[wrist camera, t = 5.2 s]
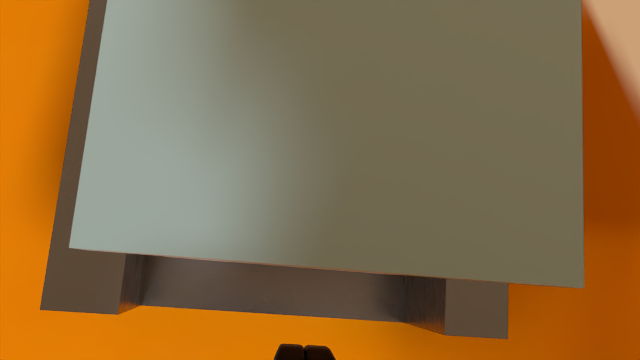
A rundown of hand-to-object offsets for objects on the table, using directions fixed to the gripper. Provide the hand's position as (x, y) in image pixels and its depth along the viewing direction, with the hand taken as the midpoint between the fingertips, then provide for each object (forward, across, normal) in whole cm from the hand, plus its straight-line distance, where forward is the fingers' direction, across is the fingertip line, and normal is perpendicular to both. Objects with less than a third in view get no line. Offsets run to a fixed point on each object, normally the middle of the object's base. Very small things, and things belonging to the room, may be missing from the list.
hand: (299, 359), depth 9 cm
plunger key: (+7, 0, +1) cm, 7 cm away
